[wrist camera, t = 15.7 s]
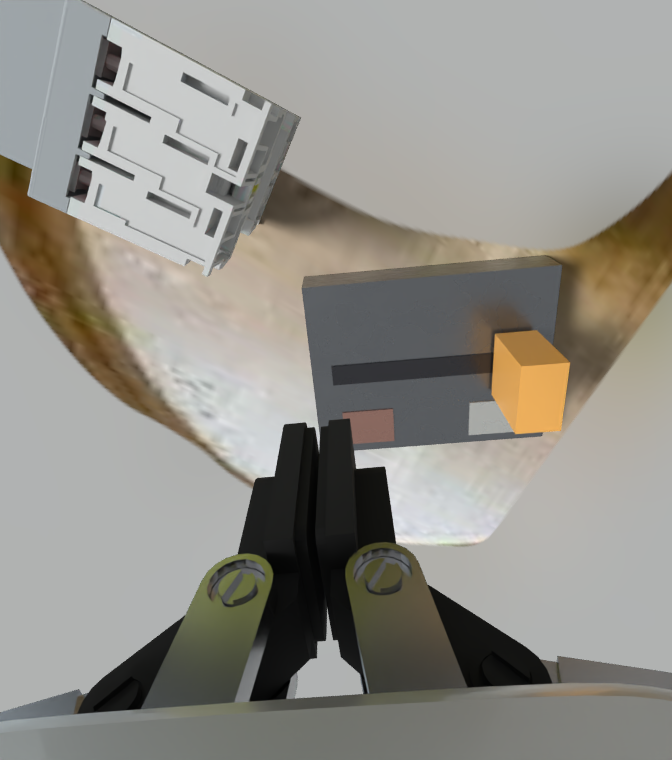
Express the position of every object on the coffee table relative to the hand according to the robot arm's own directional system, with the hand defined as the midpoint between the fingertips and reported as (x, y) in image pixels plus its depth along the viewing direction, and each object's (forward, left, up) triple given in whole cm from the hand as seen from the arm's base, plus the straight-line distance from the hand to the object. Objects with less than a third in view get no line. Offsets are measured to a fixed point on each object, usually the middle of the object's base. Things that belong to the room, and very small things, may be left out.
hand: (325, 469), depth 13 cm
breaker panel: (-7, +9, -27) cm, 29 cm away
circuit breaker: (+9, -9, -27) cm, 30 cm away
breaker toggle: (-13, +9, -23) cm, 28 cm away
